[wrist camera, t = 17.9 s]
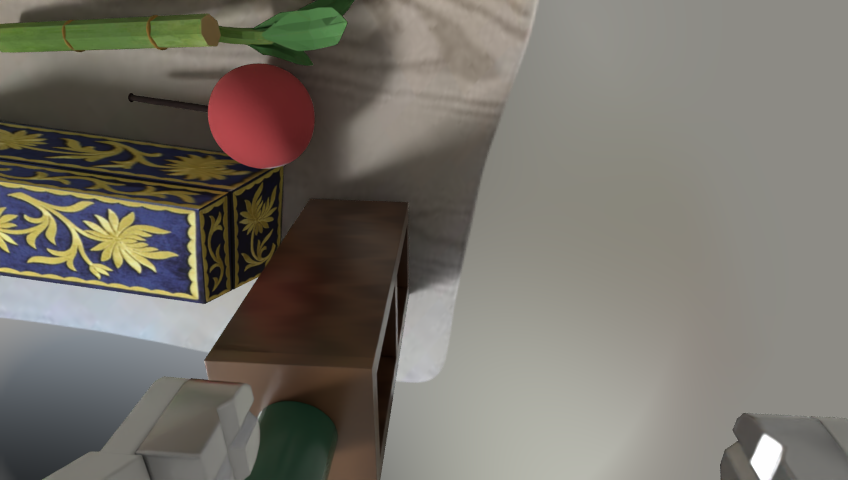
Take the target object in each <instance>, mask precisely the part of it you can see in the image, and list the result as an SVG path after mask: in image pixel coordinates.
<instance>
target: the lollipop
mask: <svg viewBox="0 0 848 480" xmlns="http://www.w3.org/2000/svg"><path fill="white" fill-rule="evenodd" d="M128 99H129V101H130V102H133V101H137V102H143V103H149V104H155V105H162V106H168V107H175V108H182V109H188V110H195V111H201V112H208V121H209V126H210V129H211V132H212V135H213V137H214V139H215V140H216V142H217V144H218V145H219V146H220V148H221V149H222V150H223V151H224V152H225V153H226V154H227V155H228V156H230V157H231V158H232V159H234V160H236V161H237V162H239V163H241V164H243V165H246V166H249V167H253V168H259V169H270V168H277V167H281V166H284V165H286V164H288V163H290V162H292V161H294V160H295V159H296V158H298V157H299V156H300V155H301V154H302V153H303V152H304V151H305V149H306V148H307V146H308V144H309V142H310V140H311V138H312V135H313V130H314V123H315V114H314V107H313V103H312V100H311V98H310V95H309V93H308V92H307V90H306V88H305V87H304V85H303V84H302V83H301V82H300V81H299V80H298V79H297V78H296V77H295V76H294V75H292V74H291V73H289V72H288V71H286V70H284V69H282V68H279V67H276V66H273V65H268V64H249V65H244V66H241V67H238V68H235V69H233V70H231V71H230V72H228V73H227V74H225V75H224V76H223V77H222V78H221V79H220V80H219V81H218V82H217V84H216V85H215V87H214V89H213V91H212V93H211V96H210V100H209V105H208V106H207V105H200V104H193V103H186V102H179V101H172V100H166V99H158V98H151V97H144V96H137V95H133V94H132V93H130V94H129V96H128Z"/></svg>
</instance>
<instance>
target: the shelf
mask: <svg viewBox="0 0 848 480" xmlns="http://www.w3.org/2000/svg"><path fill="white" fill-rule="evenodd" d="M408 298H409V202H392V201H363V200H334V199H309V201H308V202H307V204H306V205H305V207H304V209H303V210H302V212H301V213H300V215H299V216H298V218H297V219H296V221H295V222H294V224H293V225H292V227H291V228H290V230H289V231H288V233H287V235H286V236H285V238H284V239H283V241H282V242H281V244H280V245H279V247H278V248H277V250H276V251H275V253H274V254H273V256H272V258H271V259H270V261H269V262H268V264H267V265H266V267H265V268H264V270H263V271H262V273H261V274H260V276H259V277H258V279H257V280H256V282H255V284H254V285H253V287H252V288H251V290H250V291H249V293H248V294H247V296H246V297H245V299H244V300H243V302H242V303H241V305H240V307H239V308H238V310H237V311H236V313H235V314H234V316H233V317H232V319H231V320H230V322H229V323H228V325H227V326H226V328H225V330H224V331H223V333H222V334H221V336H220V337H219V339H218V340H217V342H216V343H215V345H214V346H213V348H212V349H211V351H210V352H209V354H208V356H207V357H206V359H205V360H204V362H205V367H206V370H207V375H208V379H209V380H216V381H227V382H239V383H246V384H248V385H251V388H252V393H253V397H254V402H253V404H252V406H251V408H250V410H249V411H250V412H251V413H252V414H253V415H255V416H256V417H257V415H258V414H259V412H260V411H261V410H262V409H264V408H265V407H267V406H268V405H270V404H273V403H276V402H280V401H298V402H303V403H306V404H309V405H312V406H314V407H316V408H318V409H320V410H321V411H323V412H324V413H325V414H327V415H328V416H329V417H330V418H331V420H332V421H333V422H334V424H335V426H336V429H337V433H338V441H337V446H336V450H335V453H334V457H333V461H332V465H331V469H330V473H329V477H328V480H380V477H381V471H382V464H383V458H384V452H385V446H386V438H387V432H388V426H389V419H390V413H391V406H392V401H393V394H394V388H395V381H396V375H397V369H398V362H399V356H400V349H401V343H402V336H403V330H404V324H405V317H406V311H407V304H408Z"/></svg>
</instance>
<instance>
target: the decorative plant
mask: <svg viewBox="0 0 848 480" xmlns="http://www.w3.org/2000/svg"><path fill="white" fill-rule="evenodd" d="M353 2H354V0H316V1H314V2H312V3H311V4H309V5H307V6H305V7H303V8H301V9H299V10H297V11H289V12H280V13H279V14H277V15H275V16H273V17H272V18H270V19H268V20H267V21H265V22H263V23H261V24H260V25H258V26H256V27H254V28H232V27H222V26H218V22H217V20H215V19H214V18H213V17H212V16H211V15H210V14H189V15H169V16H158V15H153V16H148V17H128V18H108V19H88V20H68V21H48V22H28V23H8V24H0V51H1V52H45V51H76V52H83V51H85V50H110V49H142V48H157V49H159V50H166V49H167V48H175V47H207V46H217V45H218V42H223V43H230V44H245V45H248V46H250V47H252V48H253V49H255V50H257V51H258V52H260V53H261V54H263V55H271V56H274V57H277V58H280V59H283V60H286V61H289V62H293V63H295V64H299V65H304V66H310V65H313V63H312V61H311V60H310V58H309V57H308V55H307V54H306V53H305V52H304V51H307V50H316V49H320V48H324V47H329V46H333V45H337V44H338V43H339V41H340V39H341V37H342V35H343V33H344V30H345V28H346V26H347V21H346V20H345V19H344V18H343V17H342V16H343V15H344V14H345V12H346V11H347V10H348V9H349V8H350V6H351V5H352V3H353Z"/></svg>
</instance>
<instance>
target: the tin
mask: <svg viewBox="0 0 848 480" xmlns="http://www.w3.org/2000/svg"><path fill="white" fill-rule="evenodd" d="M257 418H258V421H259V426H260V445H259V449H258V454H257V459H256V462H255V464H254V466H253V469H252V471H251V474H250V475H249V476H248V477H247V478H246V479H244V480H328V477H329V473H330V469H331V465H332V461H333V457H334V453H335V450H336V446H337V441H338V433H337V429H336V426H335V424H334V422H333V421H332V420H331V418H330V417H329V416H328V415H327V414H325V413H324V412H323V411H321V410H320V409H318V408H316V407H314V406H312V405H309V404H306V403H303V402H298V401H280V402H276V403H273V404H270V405H268V406H267V407H265V408H264V409H262V410H261V411H260V412H259V414H258V415H257Z"/></svg>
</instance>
